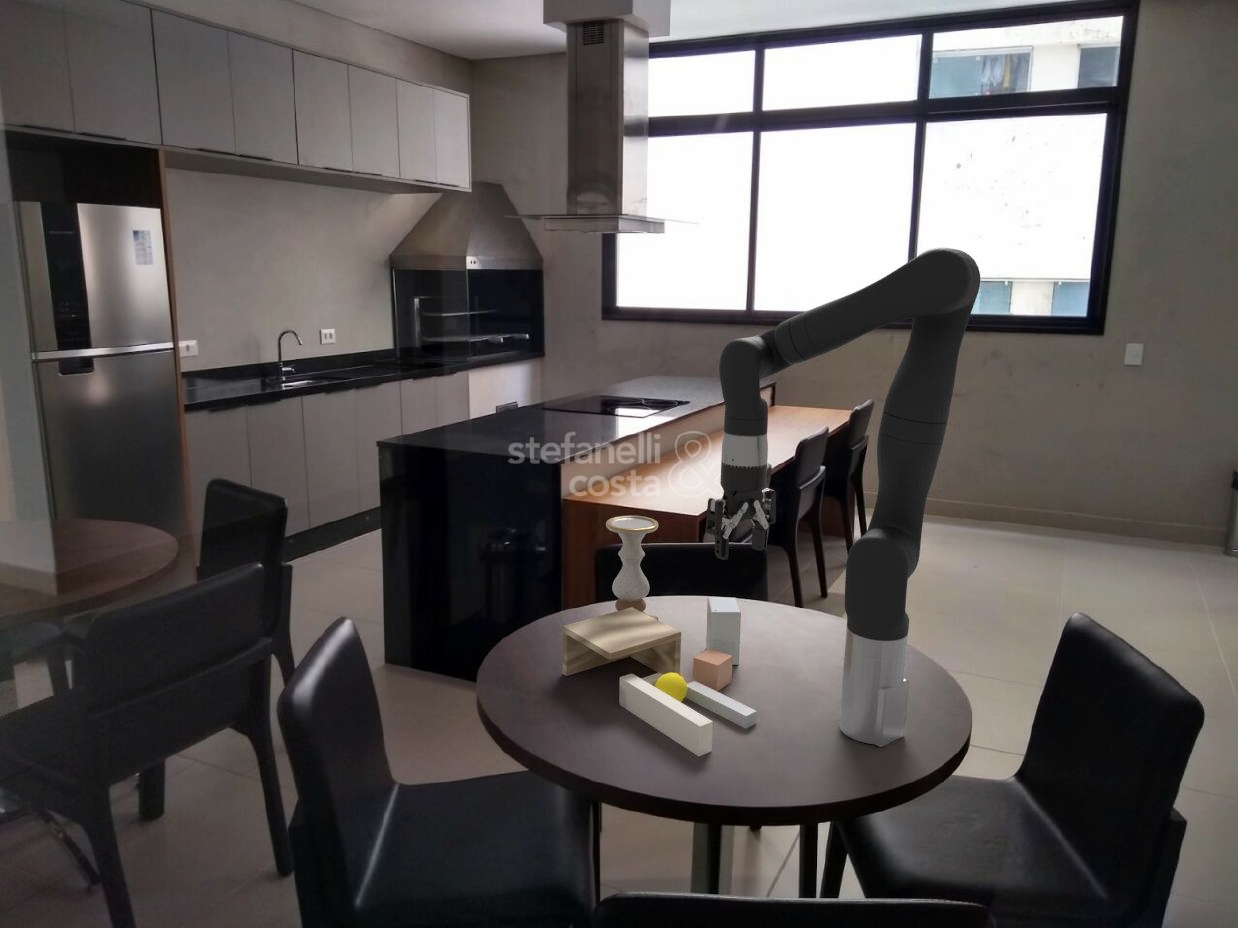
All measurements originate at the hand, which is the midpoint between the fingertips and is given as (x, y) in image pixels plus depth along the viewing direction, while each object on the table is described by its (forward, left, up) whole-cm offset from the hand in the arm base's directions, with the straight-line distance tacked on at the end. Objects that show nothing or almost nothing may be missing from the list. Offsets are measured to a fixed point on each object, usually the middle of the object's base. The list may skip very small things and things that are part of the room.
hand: (740, 553), depth 148 cm
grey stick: (-3, +7, -25) cm, 26 cm away
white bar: (-2, +15, -25) cm, 29 cm away
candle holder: (+29, +1, -25) cm, 38 cm away
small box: (+12, -8, -25) cm, 29 cm away
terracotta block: (+5, +1, -25) cm, 26 cm away
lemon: (+3, +12, -25) cm, 28 cm away
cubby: (+16, +13, -25) cm, 32 cm away
